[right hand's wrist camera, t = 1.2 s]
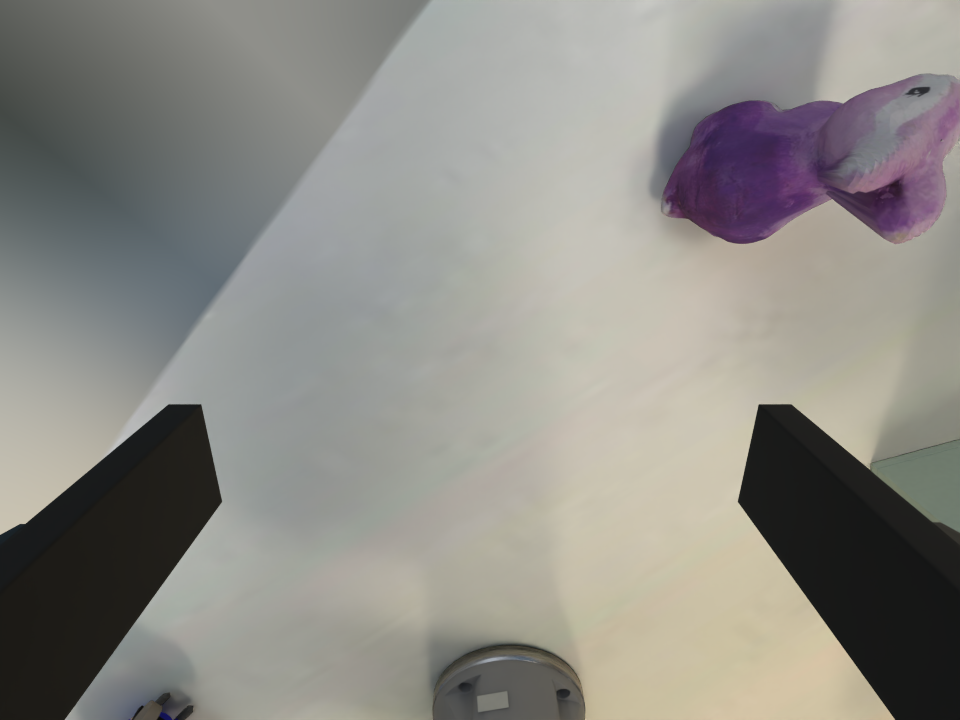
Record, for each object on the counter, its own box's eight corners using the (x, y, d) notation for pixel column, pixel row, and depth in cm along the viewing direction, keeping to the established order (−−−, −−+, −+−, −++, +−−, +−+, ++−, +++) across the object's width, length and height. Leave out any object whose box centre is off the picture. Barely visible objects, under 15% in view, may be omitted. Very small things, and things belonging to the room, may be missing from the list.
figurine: (848, 102, 34) (1098, 75, 20) (767, 254, 38) (932, 320, 24) (714, 49, 33) (883, -17, 19) (644, 211, 37) (744, 254, 23)
